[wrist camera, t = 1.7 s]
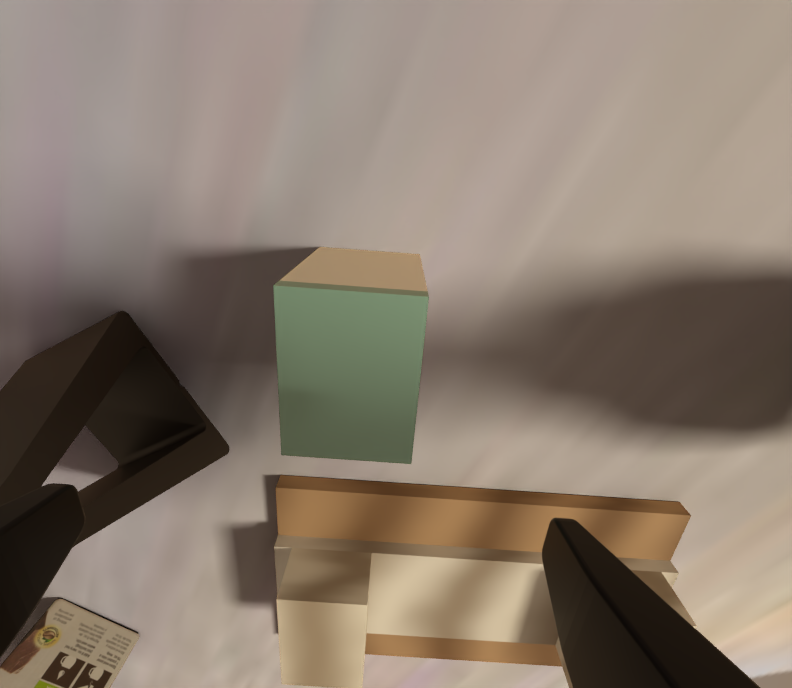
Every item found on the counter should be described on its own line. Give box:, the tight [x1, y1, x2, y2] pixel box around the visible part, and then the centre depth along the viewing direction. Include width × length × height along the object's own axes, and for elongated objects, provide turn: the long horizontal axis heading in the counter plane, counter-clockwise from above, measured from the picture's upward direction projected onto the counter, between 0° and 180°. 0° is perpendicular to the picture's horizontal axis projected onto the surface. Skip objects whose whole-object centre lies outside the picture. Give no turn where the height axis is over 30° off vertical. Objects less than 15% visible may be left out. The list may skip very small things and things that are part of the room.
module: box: [273, 247, 429, 464], centre depth 16 cm, size 4×6×7 cm
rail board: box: [274, 475, 697, 688], centre depth 24 cm, size 23×14×5 cm, turn 86°
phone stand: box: [0, 311, 229, 547], centre depth 16 cm, size 9×6×12 cm, turn 25°
